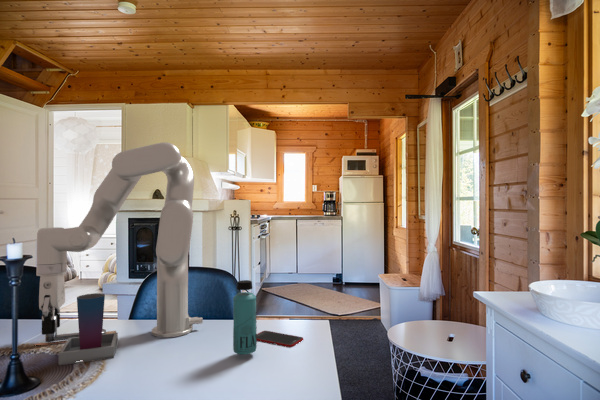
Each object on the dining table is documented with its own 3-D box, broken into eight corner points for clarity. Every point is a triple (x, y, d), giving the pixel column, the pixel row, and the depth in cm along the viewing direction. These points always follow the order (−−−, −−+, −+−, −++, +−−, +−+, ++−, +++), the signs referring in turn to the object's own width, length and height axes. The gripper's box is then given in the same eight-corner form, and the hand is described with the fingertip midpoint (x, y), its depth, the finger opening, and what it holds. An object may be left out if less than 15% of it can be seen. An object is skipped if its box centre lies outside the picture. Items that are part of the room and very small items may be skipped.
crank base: (115, 332, 122) (115, 330, 122) (113, 340, 115) (113, 338, 115) (38, 341, 114) (38, 339, 114) (30, 350, 107) (30, 348, 107)
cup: (92, 356, 100) (92, 299, 101) (70, 354, 102) (70, 298, 102) (110, 347, 107) (110, 293, 108) (89, 345, 109) (89, 292, 109)
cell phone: (264, 333, 122) (264, 330, 122) (304, 340, 114) (304, 337, 114) (249, 340, 115) (249, 337, 115) (291, 349, 108) (291, 345, 108)
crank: (106, 332, 120) (106, 309, 120) (104, 337, 115) (104, 313, 115) (47, 338, 114) (48, 314, 114) (43, 343, 109) (43, 319, 110)
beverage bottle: (237, 362, 97) (237, 284, 98) (229, 353, 103) (229, 279, 104) (260, 357, 100) (260, 281, 101) (252, 349, 106) (251, 277, 107)
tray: (117, 342, 113) (117, 332, 113) (113, 357, 101) (113, 346, 101) (68, 348, 108) (68, 338, 108) (58, 365, 96) (58, 353, 96)
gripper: (60, 272, 106) (59, 338, 106) (71, 264, 122) (71, 321, 122) (28, 274, 103) (27, 341, 103) (44, 266, 119) (43, 324, 119)
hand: (51, 330), depth 112 cm, fingers open, 5 cm apart
